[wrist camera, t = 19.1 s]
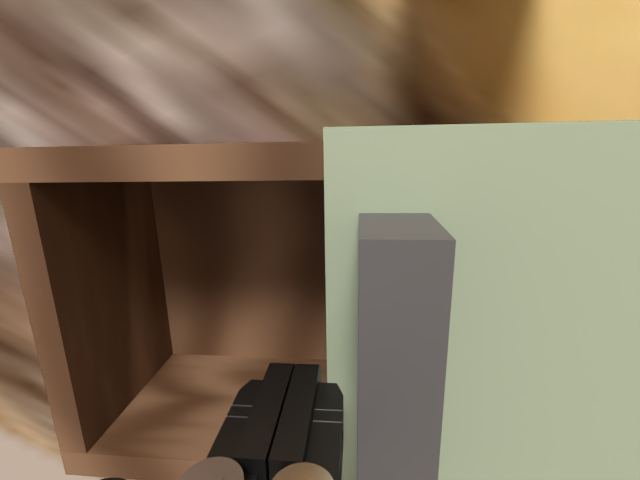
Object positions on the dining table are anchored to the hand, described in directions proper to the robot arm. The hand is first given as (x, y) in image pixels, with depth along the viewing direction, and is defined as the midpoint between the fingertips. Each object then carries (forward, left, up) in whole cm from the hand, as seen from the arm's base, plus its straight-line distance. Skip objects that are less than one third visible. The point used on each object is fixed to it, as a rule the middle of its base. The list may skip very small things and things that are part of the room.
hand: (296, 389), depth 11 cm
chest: (-1, 0, -12) cm, 12 cm away
